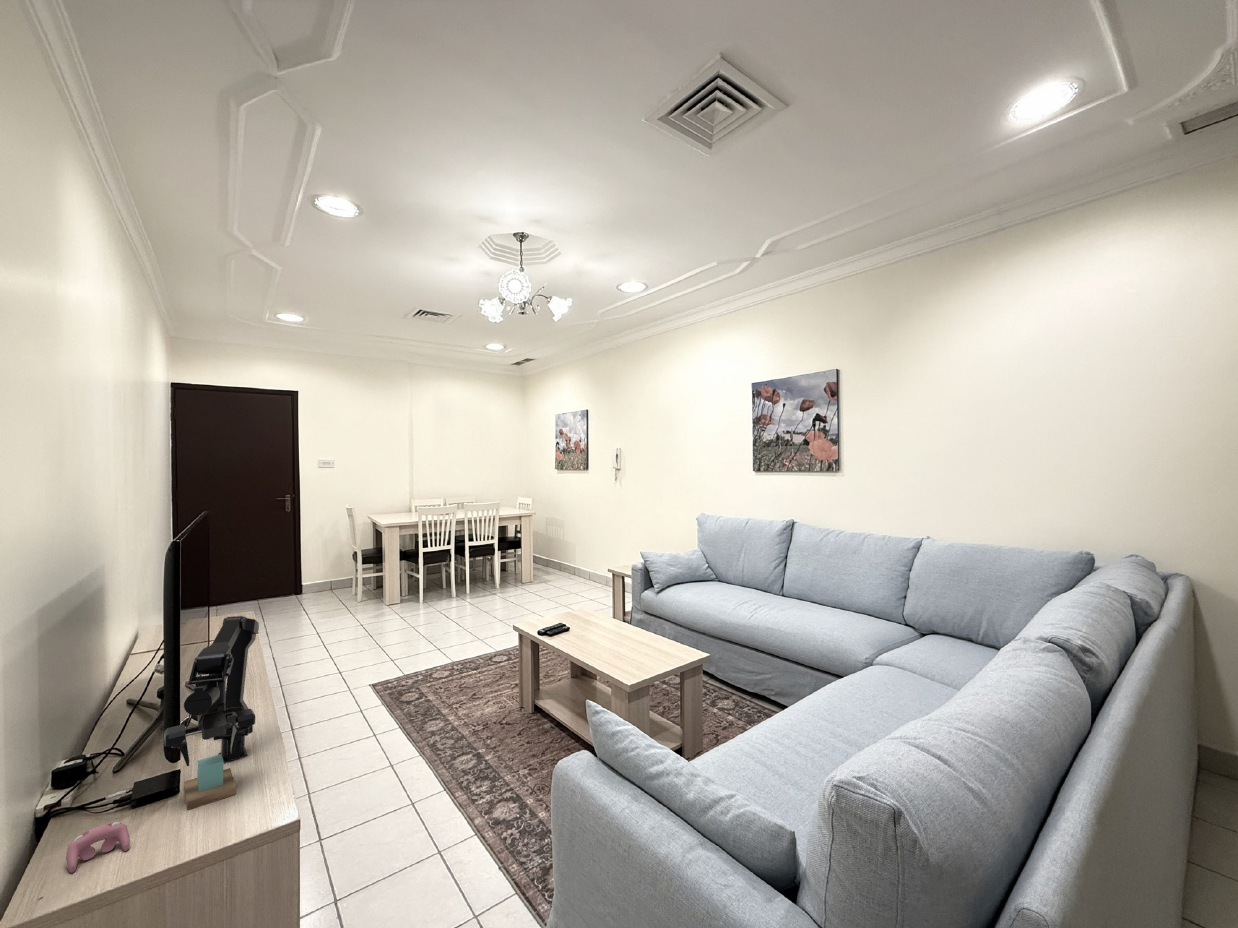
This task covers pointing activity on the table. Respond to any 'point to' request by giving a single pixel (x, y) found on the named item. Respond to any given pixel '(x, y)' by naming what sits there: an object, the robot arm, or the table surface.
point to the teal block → (210, 772)
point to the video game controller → (83, 842)
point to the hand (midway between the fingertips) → (210, 759)
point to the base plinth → (209, 791)
